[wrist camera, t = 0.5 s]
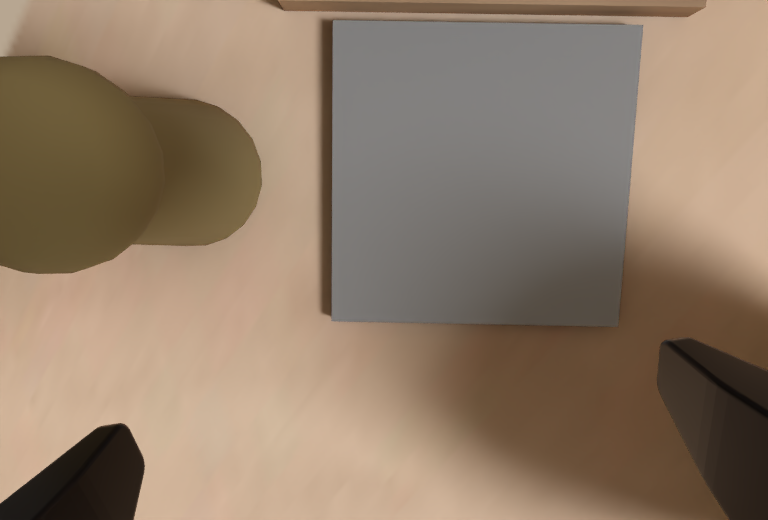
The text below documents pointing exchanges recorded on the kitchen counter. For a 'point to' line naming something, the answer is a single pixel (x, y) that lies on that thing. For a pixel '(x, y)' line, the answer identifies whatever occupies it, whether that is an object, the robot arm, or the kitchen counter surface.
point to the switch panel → (507, 6)
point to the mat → (481, 171)
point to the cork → (112, 169)
